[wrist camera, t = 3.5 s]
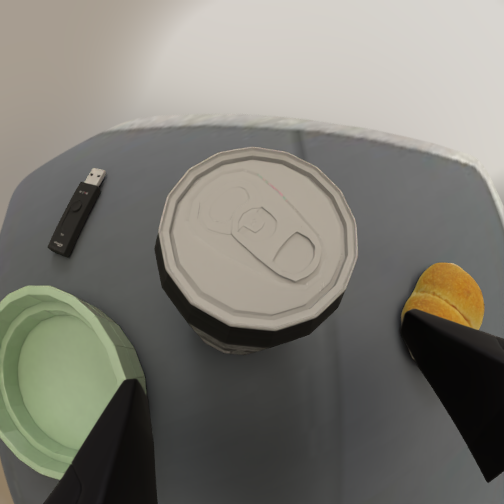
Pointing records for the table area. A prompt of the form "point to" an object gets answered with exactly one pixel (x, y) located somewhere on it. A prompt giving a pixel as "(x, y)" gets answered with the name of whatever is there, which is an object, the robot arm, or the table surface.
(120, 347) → the bowl
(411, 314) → the robot arm
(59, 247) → the usb flash drive
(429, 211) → the table surface
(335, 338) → the table surface
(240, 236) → the beverage can
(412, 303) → the bread roll
